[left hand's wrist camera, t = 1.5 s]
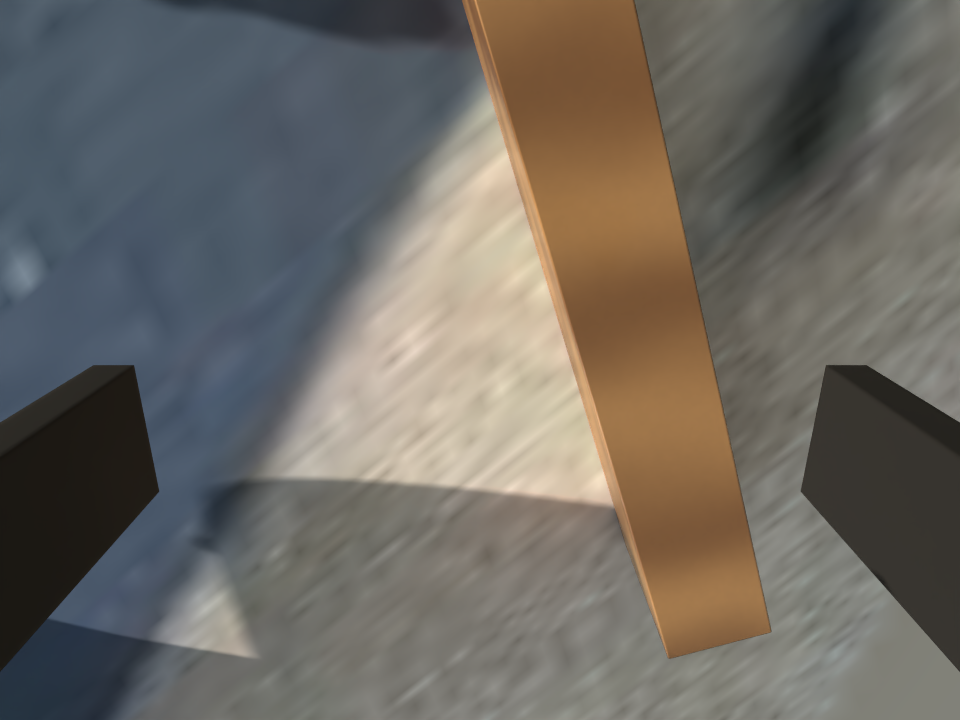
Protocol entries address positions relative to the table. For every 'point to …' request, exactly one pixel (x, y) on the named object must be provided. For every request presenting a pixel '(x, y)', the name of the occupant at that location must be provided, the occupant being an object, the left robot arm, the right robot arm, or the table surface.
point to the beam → (626, 301)
